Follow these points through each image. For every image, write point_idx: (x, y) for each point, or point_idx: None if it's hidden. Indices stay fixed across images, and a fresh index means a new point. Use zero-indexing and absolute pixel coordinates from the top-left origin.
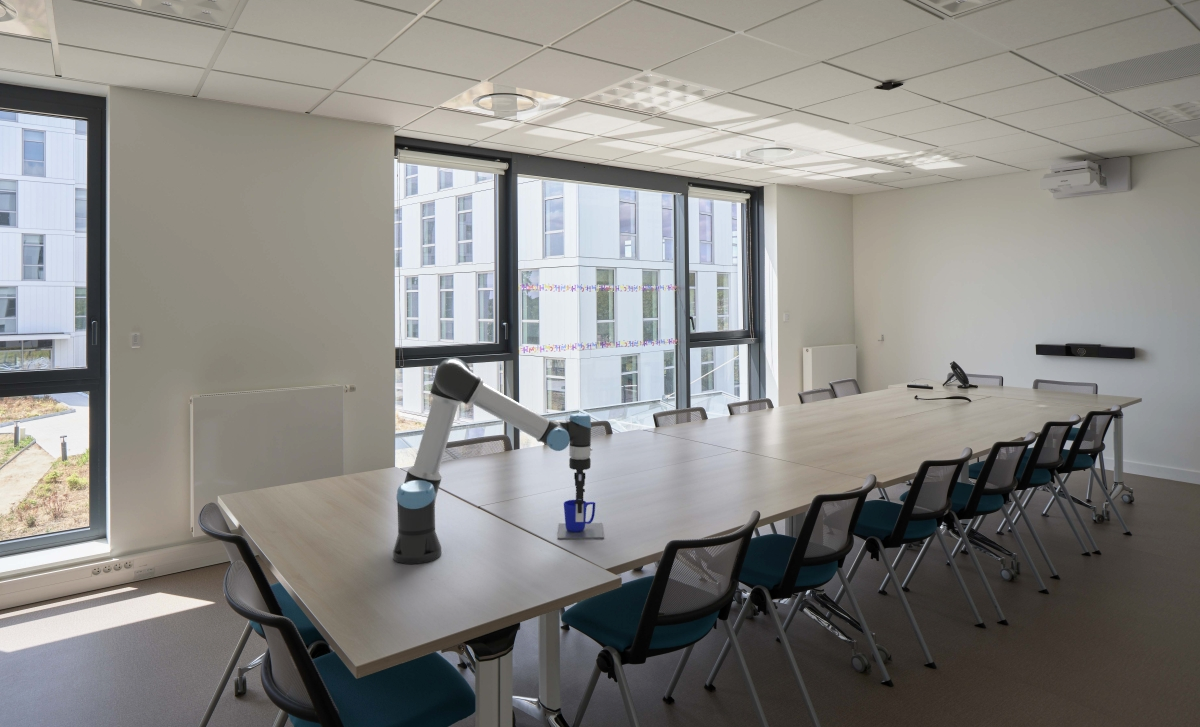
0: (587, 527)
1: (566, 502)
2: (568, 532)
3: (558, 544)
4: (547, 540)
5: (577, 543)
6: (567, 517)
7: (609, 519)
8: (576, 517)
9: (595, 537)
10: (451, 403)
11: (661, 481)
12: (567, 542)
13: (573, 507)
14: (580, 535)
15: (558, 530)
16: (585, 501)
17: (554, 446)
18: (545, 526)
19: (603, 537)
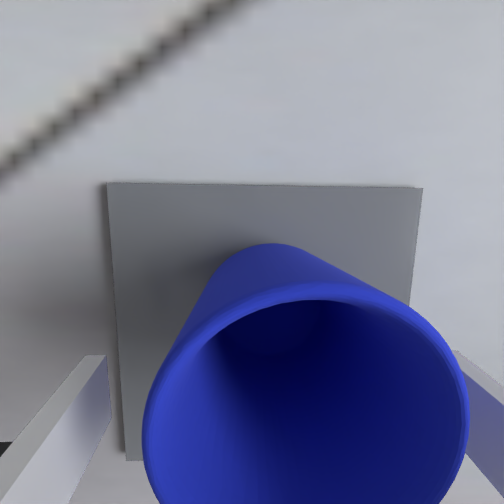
0: None
1: (386, 317)
2: (220, 257)
3: (11, 190)
4: (91, 110)
5: (40, 310)
6: (213, 282)
7: (471, 482)
8: (66, 388)
9: (123, 417)
10: None
11: None
12: (56, 249)
13: (145, 411)
14: (156, 333)
15: (267, 188)
16: None
17: None
18: (402, 90)
19: (126, 458)
